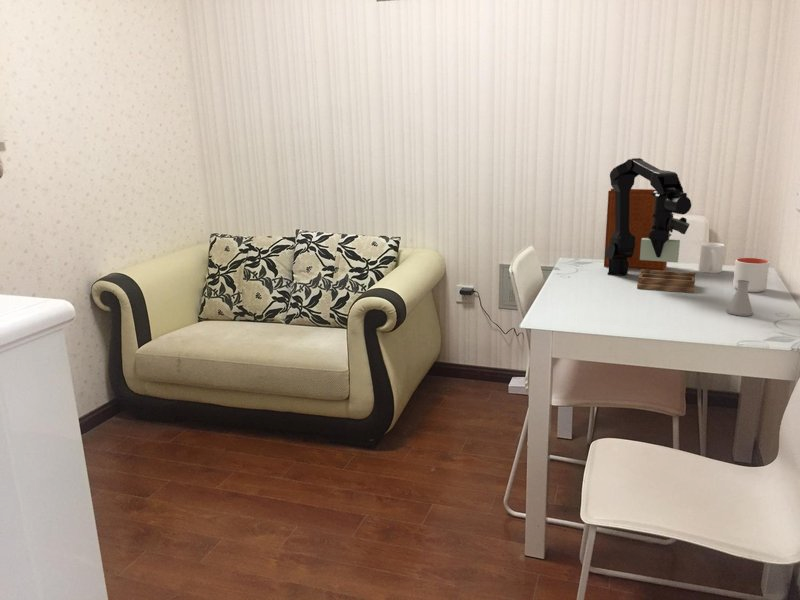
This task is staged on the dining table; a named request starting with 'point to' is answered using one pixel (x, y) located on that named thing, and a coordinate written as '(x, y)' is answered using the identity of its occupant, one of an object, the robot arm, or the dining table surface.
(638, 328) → the dining table surface
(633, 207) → the book
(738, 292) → the flask
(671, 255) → the pale green box
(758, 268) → the cup
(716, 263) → the mug
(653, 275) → the box
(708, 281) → the dining table surface
